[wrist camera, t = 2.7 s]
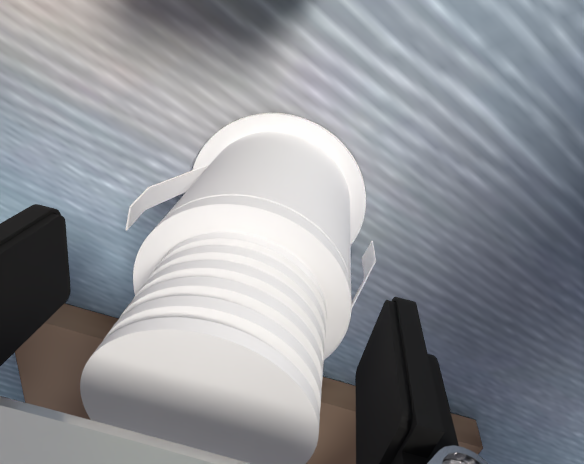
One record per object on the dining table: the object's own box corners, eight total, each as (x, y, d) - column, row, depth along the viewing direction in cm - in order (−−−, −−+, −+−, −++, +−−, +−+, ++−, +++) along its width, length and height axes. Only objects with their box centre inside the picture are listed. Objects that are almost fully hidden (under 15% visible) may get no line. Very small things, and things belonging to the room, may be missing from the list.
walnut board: (475, 420, 20) (483, 448, 19) (376, 557, 28) (377, 583, 27) (28, 293, 21) (6, 311, 20) (56, 460, 29) (41, 481, 28)
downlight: (167, 231, 18) (-7, 448, 9) (205, 74, 14) (-17, 184, 5) (333, 294, 18) (320, 554, 10) (410, 160, 15) (497, 379, 6)
